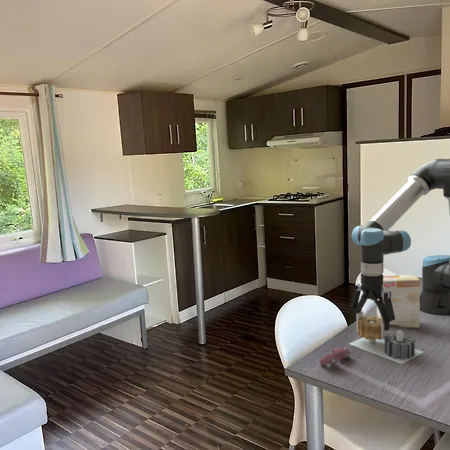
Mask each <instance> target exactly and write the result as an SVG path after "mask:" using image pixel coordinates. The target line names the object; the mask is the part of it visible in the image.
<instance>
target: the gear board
mask: <svg viewBox="0 0 450 450" xmlns="http://www.w3.org/2000/svg"><path fill="white" fill-rule="evenodd" d="M369 323H375V322H373V321H370V322H369ZM395 333H396V341H403V334H404V332H403V330H401V329H397V331H396V332H395ZM349 345H351V346H353V347H356V348H359V349H361V350H363V351H366V352H369V353H372V354H374V355H377V356H379V357H382V358H384V359H387V360H389V361H392V362H395V363H398V364H399V365H403V364H405V363H407V362H408V361H410V360H412V359H414V358H417V356H420V355H422V354H423V353H424V351H423V350H421V349H416V348H415V356H414V357H412V358H411V359H408V358H405V360H401V358H397V359H395V358H393V357H392V356H390V357H389V356H387V353H385V352H384V340H379V339H376V340H372V339H368V340H367V339H365V338H364V337H363V338H361V337H360V338H359V339H357V340H354V341H352V342H349Z"/></svg>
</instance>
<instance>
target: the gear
mask: <svg viewBox="0 0 450 450" xmlns="http://www.w3.org/2000/svg"><path fill="white" fill-rule="evenodd" d="M415 349H416V339H415V338H413V335H407V334H405V333H403V341H396V332H395V333H389V334H388V336H387V335H386V336H385V338H384V352H385V353H387V356H389V357H390V356H392V357H393V358H395V359H397V358H401V360H405V358H408V359H411V358H412V357H414V356H415ZM414 358H415V357H414ZM412 359H413V358H412ZM412 359H411V360H412Z"/></svg>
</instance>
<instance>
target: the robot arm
mask: <svg viewBox="0 0 450 450" xmlns="http://www.w3.org/2000/svg"><path fill="white" fill-rule="evenodd" d="M406 179H407V180H406V183H405V184H404V185H403V186H402V187H401V188H400V189H399V190H398V191H397V192H396V193H395V194H394V195H393V196H392V197H391V198H390V199H389V200H388V201H387V202H386V203H385V204H384V205H383V206H382V207H381V208H380V210H379V211H378V212H377V213H375V215H373V217H372V218H371V219H369V221H368V222H367V223H365V225H358V226H355V227H354V228H353V229H352V232H351V239H352V242H353V243H354V244H356V245H359V246H360V272H361V274H360V283H357V284H355V285H353V295H352V299H351V302H350V305H349V307H350V308H349V309H350V311H353V312H354V320H355V321H356V331H357V332H358V319H359V318H361V319H362V317H364V312H363V308H364V306H365V305H366V302H367V301H368V300H371V301H373V302H374V304H376V308H377V307H378V309H379V312H380V314H381V316H382V319H383V321H381V339H382V340H384V338H385V336H386V335H387V336H388V333H389V331H390V327H391V325H390V322H391V321H393V320H395V315H394V311H393V306H392V302H391V292H386V291H383V288H382V286H383V276H384V274H383V273H384V256H386V255H391V254H397V253H402V252H405V251H408V250H409V249H410V247H411V245H412V238H411V235H410V234H409V233H408V232H407V231H405V230H395V231H393V230H390V229H391V228H392V227H393V226H395V224H396V223H397V222H398V220H400V219H401V217H403V216H404V215H405V214H406V213H407V212H408V211H409V209H410V208H411V207H413V205H414V204H416V202H417V201H418V200H419V199H420V198H421V197H422V196H426V195H428V194H429V193H430V192H431V191H432V190H436V189H437V190H442V191H443V193H442V194H443V197H444V198H446V200H448V212H449V215H450V158H436V159H432V160H430V161H428V162H427V163H424V164H422V165H421V166H420V167H418V168H417V169H416V170H414V171H413V173H411V174H410V175H409V177H408V178H406ZM421 269H422V270H421V272H422V273H421V275H422V277H421V287H422V289H421V291H420V311H422V312H424V313H428V314H432V315H450V255H449V254H438V255H437V254H435V255H429V256H426V257H424V258H423V259H422V266H421ZM361 292H362V293H361ZM382 295H383V296H382ZM382 297H383V298H384V302H383V298H382ZM377 299H379V300H377ZM384 304H385V305H384Z"/></svg>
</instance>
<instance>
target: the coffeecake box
mask: <svg viewBox="0 0 450 450" xmlns="http://www.w3.org/2000/svg"><path fill="white" fill-rule="evenodd" d="M382 288H383V291H386V292H391V302H392V306H393V311H394V315H395V320H393V321H391V322H390V326H391V325H392V326H398V327H401V328H404V329H405V328H420V322H421V321H420V317H421V316H420V315H421V313H420V311H421V310H420V294H421V279H419V278H418V277H417V275H415V274H406V275H405V274H403V275H402V274H400V275H398V274H397V275H383V286H382ZM382 296H383V295H382ZM382 298H383V297H382ZM377 300H379V299H377ZM383 302H384V298H383ZM384 305H385V304H384ZM376 317H379V319H381V318H382V316H381V314H380V312H379V309H378V307H377V306H376Z"/></svg>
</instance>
